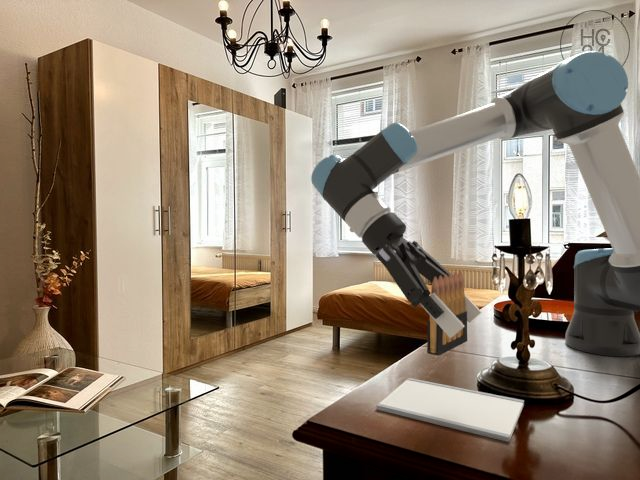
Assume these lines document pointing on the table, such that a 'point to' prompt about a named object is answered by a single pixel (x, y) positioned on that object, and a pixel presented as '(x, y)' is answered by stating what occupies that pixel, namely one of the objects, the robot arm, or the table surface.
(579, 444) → the table surface
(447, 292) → the ammunition clip
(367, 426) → the table surface
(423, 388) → the white flat rectangular board
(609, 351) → the robot arm
